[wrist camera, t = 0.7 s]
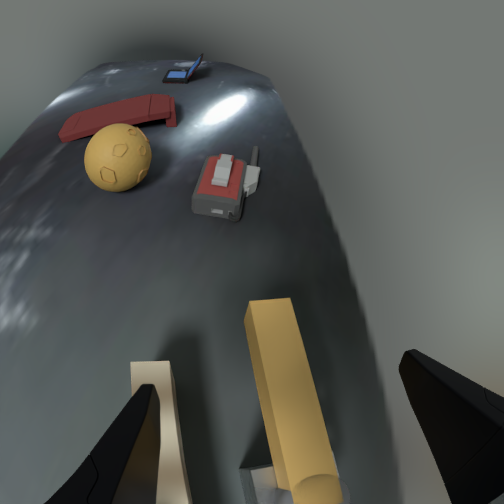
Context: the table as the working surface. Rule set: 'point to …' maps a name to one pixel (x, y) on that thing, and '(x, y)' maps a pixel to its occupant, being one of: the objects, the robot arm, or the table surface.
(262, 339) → the bar
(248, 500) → the jamb post
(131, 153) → the stress ball
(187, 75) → the handheld game console
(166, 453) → the grey-beige crossed blocks
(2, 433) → the table surface
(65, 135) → the dark red long block
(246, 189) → the walkie-talkie
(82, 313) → the table surface
